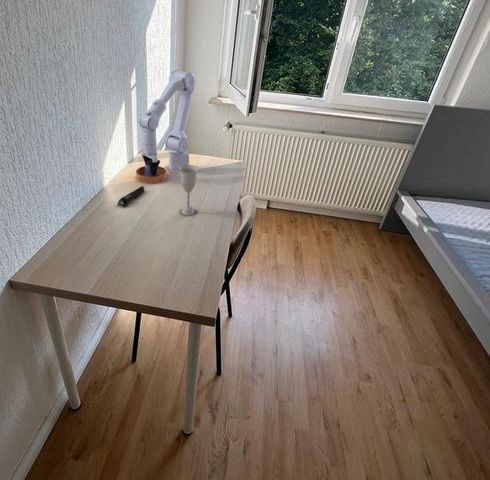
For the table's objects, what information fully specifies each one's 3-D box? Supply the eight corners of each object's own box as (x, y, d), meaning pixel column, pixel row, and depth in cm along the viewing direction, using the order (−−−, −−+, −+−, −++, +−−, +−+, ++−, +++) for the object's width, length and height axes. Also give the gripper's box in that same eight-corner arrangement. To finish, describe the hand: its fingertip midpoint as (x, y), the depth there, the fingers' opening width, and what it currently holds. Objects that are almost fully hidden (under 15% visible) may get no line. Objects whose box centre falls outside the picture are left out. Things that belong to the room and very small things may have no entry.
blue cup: (155, 174, 165) (154, 161, 162) (158, 178, 161) (158, 165, 158) (144, 175, 163) (143, 162, 160) (147, 180, 159) (146, 166, 156)
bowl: (161, 170, 170) (160, 164, 168) (170, 182, 160) (170, 174, 158) (133, 174, 165) (132, 167, 164) (140, 186, 155) (140, 178, 153)
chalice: (194, 217, 133) (195, 173, 123) (177, 215, 134) (177, 171, 124) (198, 208, 139) (199, 165, 129) (181, 206, 140) (182, 164, 130)
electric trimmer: (146, 193, 149) (146, 186, 148) (124, 207, 138) (124, 200, 136) (139, 191, 151) (139, 184, 149) (117, 205, 139) (116, 198, 137)
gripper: (136, 138, 157) (138, 167, 165) (145, 149, 146) (147, 179, 154) (151, 137, 160) (152, 165, 167) (161, 147, 149) (162, 177, 156)
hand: (151, 171), depth 161 cm, fingers open, 7 cm apart
